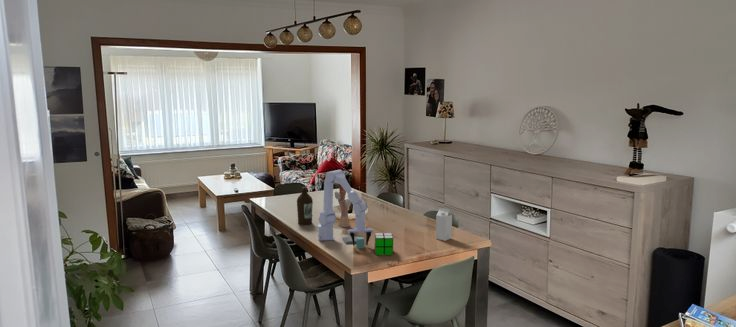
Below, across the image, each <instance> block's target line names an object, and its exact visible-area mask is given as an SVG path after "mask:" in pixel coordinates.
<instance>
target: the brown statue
mask: <svg viewBox="0 0 736 327" xmlns="http://www.w3.org/2000/svg"><path fill="white" fill-rule="evenodd" d="M338 189H339V191H334V198H335V199H336V200H337V202H338V205H339V207H340V212H341V213H340V214H341V215H340V218H339V221H338V227H339V228H347V227H348V228H349V227H350V225H351V224H350V223H351V222H350V218H349V208H350V206H351V204H352V203H351V201H350V200H349V198H347V199H346V194H347V192H346V191H345V190H344V188H343V187H342V186H341V185H340V184H338ZM345 199H346V200H345Z"/></svg>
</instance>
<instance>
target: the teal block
mask: <svg viewBox="0 0 736 327" xmlns="http://www.w3.org/2000/svg"><path fill="white" fill-rule="evenodd" d="M356 249H365V238H364V236H362V237H361V236H357V243H356Z"/></svg>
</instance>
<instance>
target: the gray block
mask: <svg viewBox="0 0 736 327" xmlns="http://www.w3.org/2000/svg"><path fill="white" fill-rule="evenodd" d="M357 237H358V236H357V235H356V236H354V243H355V244H357ZM341 240H342V241H343V242H344V244H345V245H351V244H352V245H353V241H352V238H351V236H344V237H343V236H342V238H341Z"/></svg>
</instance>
